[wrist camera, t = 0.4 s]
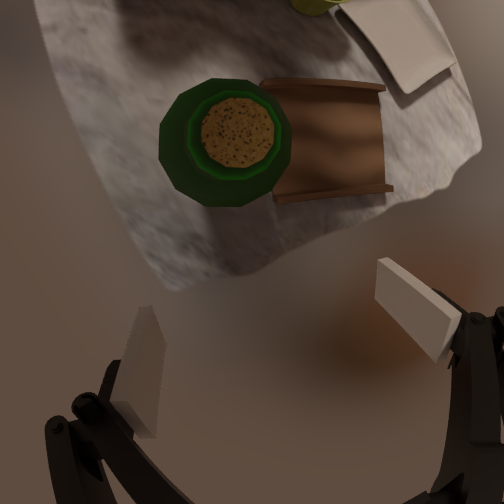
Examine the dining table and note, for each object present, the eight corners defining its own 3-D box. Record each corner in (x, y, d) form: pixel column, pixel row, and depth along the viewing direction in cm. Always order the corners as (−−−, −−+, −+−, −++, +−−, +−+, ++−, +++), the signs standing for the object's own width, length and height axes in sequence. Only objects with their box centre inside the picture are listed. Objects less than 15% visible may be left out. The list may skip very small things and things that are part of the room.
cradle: (259, 83, 34) (263, 78, 32) (375, 87, 36) (385, 84, 34) (273, 200, 41) (277, 204, 38) (383, 188, 43) (393, 191, 40)
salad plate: (324, 4, 30) (332, -4, 27) (391, -16, 28) (400, -22, 25) (395, 99, 38) (407, 97, 35) (447, 63, 35) (458, 61, 32)
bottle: (221, 97, 35) (247, -5, 9) (270, 149, 38) (384, 151, 12) (166, 147, 36) (77, 140, 10) (216, 198, 40) (232, 289, 14)
